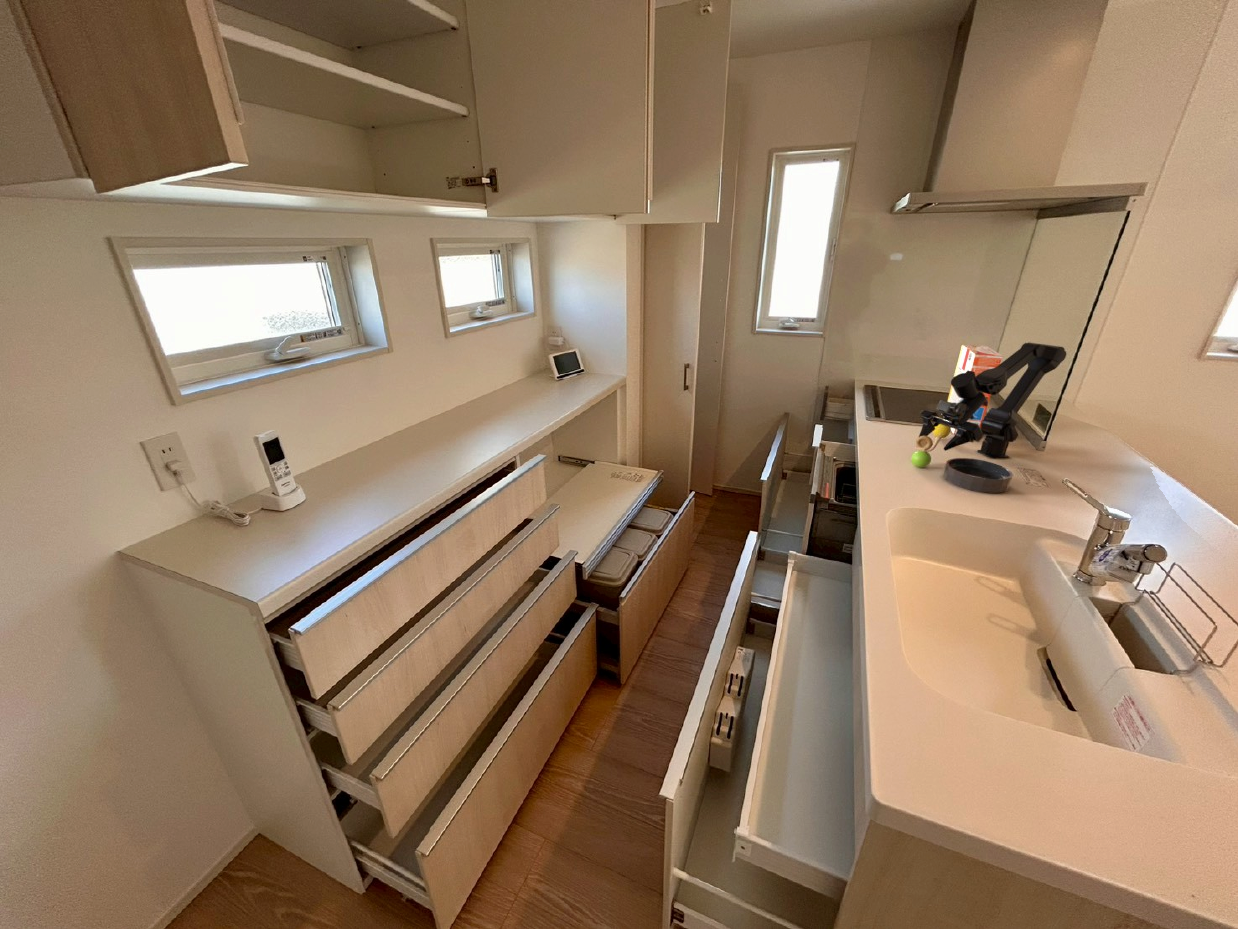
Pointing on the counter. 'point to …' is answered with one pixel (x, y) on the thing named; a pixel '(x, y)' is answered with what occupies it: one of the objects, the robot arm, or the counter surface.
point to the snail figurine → (924, 451)
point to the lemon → (941, 431)
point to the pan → (977, 475)
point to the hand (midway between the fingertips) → (931, 444)
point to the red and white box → (978, 362)
